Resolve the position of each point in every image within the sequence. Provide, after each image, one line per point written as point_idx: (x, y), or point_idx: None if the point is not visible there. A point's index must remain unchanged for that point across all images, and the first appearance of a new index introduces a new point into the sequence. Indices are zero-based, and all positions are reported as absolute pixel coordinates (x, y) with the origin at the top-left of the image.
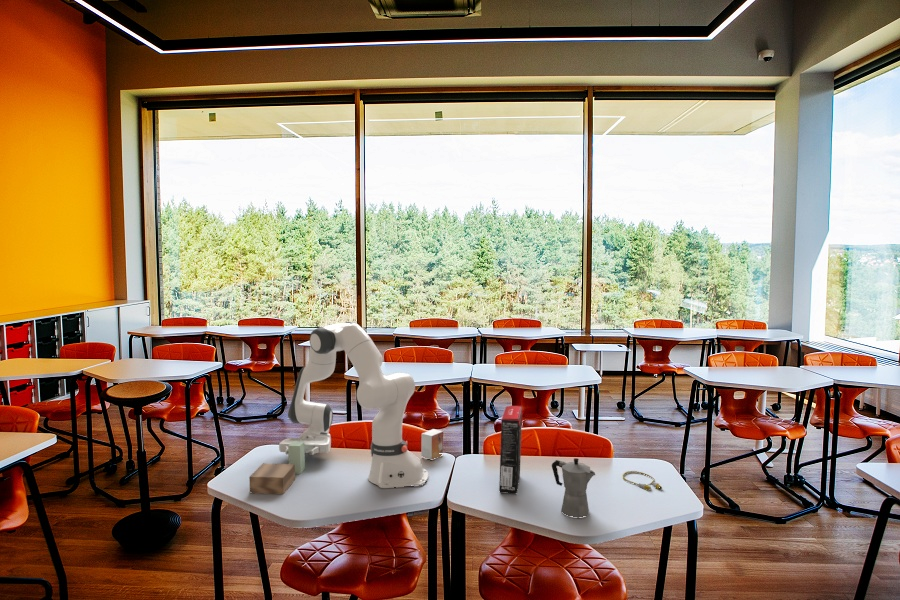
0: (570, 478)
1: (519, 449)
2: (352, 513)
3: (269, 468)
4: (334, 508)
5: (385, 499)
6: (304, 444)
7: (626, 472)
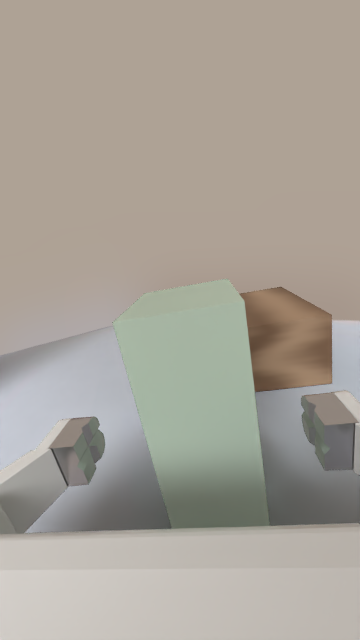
0: None
1: None
2: (61, 339)
3: (260, 308)
4: (85, 340)
5: None
6: (144, 533)
7: None
